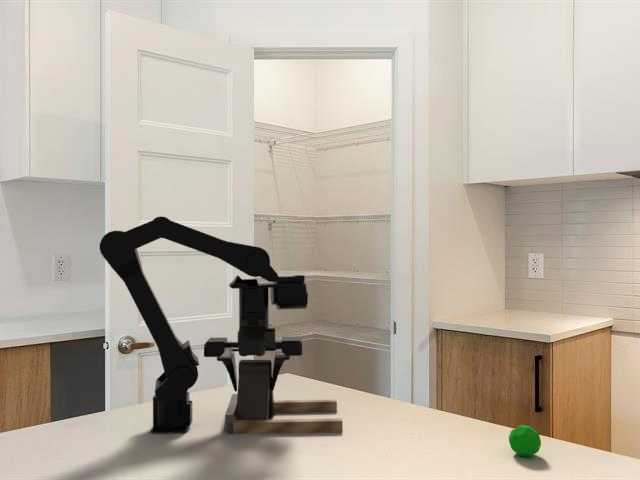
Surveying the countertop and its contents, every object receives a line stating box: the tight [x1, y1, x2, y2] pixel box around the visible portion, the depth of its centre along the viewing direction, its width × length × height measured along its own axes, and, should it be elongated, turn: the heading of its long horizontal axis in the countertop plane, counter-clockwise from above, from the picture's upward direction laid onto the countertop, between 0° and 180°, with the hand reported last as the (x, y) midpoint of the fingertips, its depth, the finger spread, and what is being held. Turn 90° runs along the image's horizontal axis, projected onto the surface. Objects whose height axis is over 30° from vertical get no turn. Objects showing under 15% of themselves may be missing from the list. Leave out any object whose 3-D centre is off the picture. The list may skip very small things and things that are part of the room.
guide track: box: [227, 399, 343, 435], centre depth 114 cm, size 21×14×2 cm, turn 93°
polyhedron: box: [508, 424, 542, 458], centre depth 96 cm, size 5×5×5 cm
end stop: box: [224, 393, 238, 435], centre depth 113 cm, size 2×14×4 cm, turn 3°
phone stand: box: [236, 359, 276, 420], centre depth 114 cm, size 9×6×12 cm, turn 174°
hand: (254, 390), depth 114 cm, fingers open, 7 cm apart
